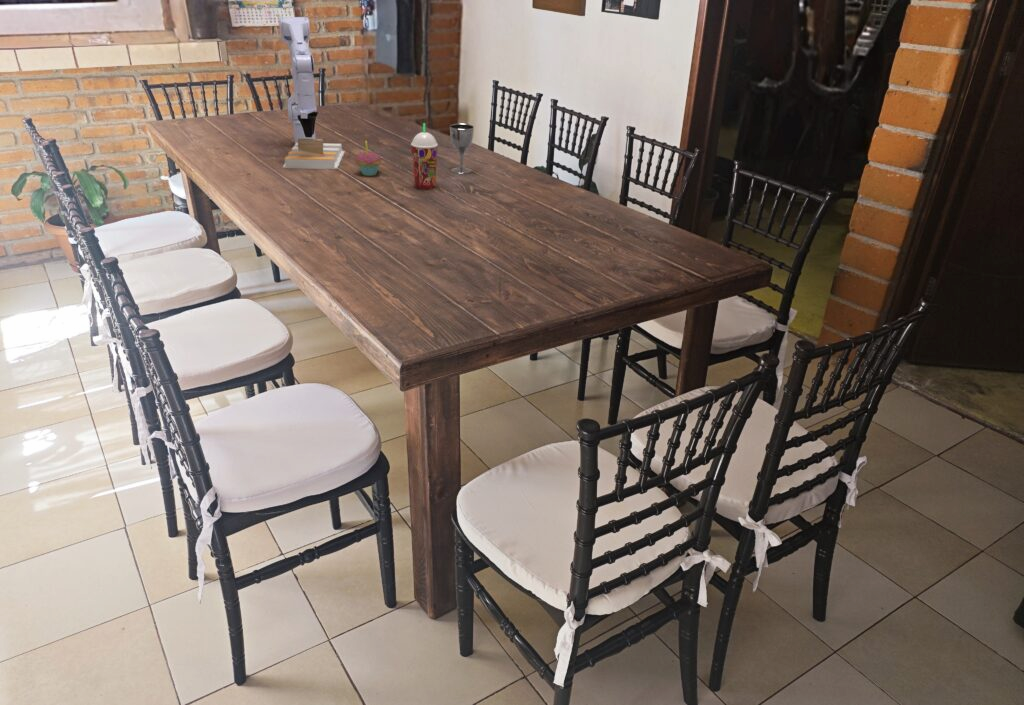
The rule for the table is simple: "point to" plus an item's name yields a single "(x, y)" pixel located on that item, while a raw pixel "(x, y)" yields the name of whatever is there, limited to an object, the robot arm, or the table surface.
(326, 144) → the rack
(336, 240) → the table surface
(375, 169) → the cupcake
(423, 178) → the smoothie
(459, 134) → the wine glass
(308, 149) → the block
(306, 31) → the robot arm
